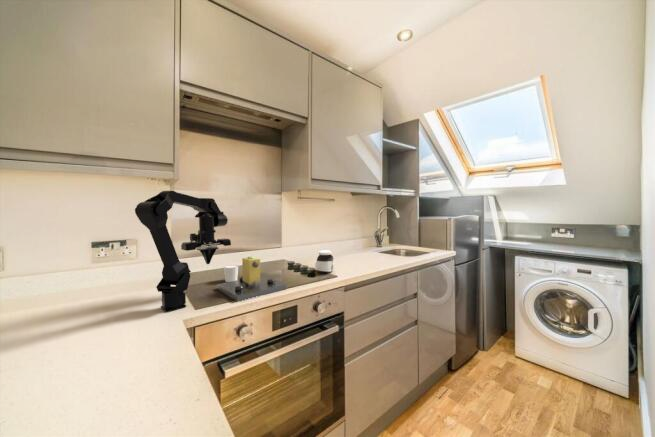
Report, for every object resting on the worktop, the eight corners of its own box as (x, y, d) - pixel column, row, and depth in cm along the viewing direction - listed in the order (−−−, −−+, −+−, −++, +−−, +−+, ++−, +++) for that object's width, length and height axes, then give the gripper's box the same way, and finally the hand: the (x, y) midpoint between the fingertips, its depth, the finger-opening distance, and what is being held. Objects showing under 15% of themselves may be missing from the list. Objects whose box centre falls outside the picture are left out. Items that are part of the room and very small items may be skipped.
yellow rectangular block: (250, 286, 107) (250, 259, 106) (241, 281, 113) (241, 256, 113) (261, 283, 110) (261, 257, 110) (251, 279, 117) (251, 254, 116)
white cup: (233, 282, 122) (233, 268, 121) (220, 282, 123) (220, 267, 123) (241, 278, 128) (240, 265, 128) (229, 278, 130) (228, 264, 130)
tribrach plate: (237, 301, 96) (237, 289, 96) (217, 288, 112) (216, 278, 112) (286, 289, 111) (286, 278, 111) (262, 279, 127) (261, 270, 127)
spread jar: (326, 275, 134) (326, 253, 133) (309, 272, 139) (308, 251, 139) (337, 270, 144) (337, 250, 144) (320, 268, 150) (320, 248, 149)
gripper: (219, 225, 120) (220, 258, 120) (175, 228, 106) (177, 265, 107) (231, 226, 112) (232, 261, 113) (185, 229, 99) (187, 269, 99)
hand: (207, 264), depth 108 cm, fingers closed
